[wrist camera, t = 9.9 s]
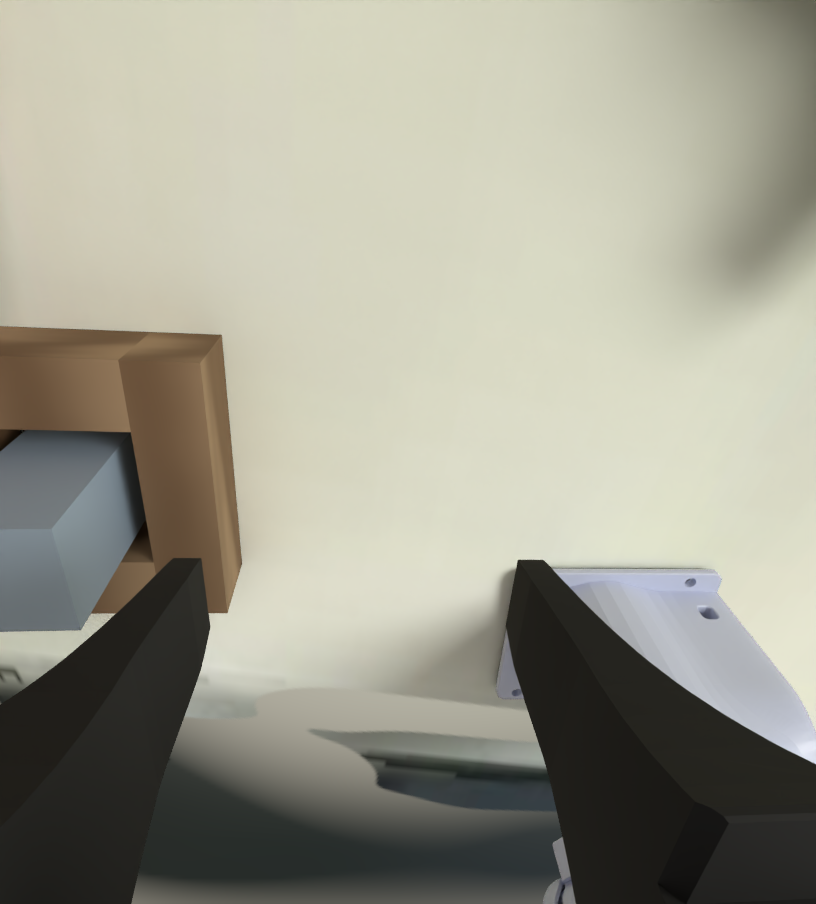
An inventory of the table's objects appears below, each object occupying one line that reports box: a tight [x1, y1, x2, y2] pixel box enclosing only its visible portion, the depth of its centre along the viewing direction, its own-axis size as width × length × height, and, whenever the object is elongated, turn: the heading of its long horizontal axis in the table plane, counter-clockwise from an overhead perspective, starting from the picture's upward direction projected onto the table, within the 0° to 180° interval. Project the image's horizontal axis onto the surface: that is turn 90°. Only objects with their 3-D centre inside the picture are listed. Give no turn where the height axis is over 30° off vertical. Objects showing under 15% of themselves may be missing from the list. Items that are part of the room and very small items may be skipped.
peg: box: [0, 430, 146, 632], centre depth 19 cm, size 4×4×7 cm
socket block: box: [0, 326, 242, 613], centre depth 21 cm, size 10×10×3 cm
